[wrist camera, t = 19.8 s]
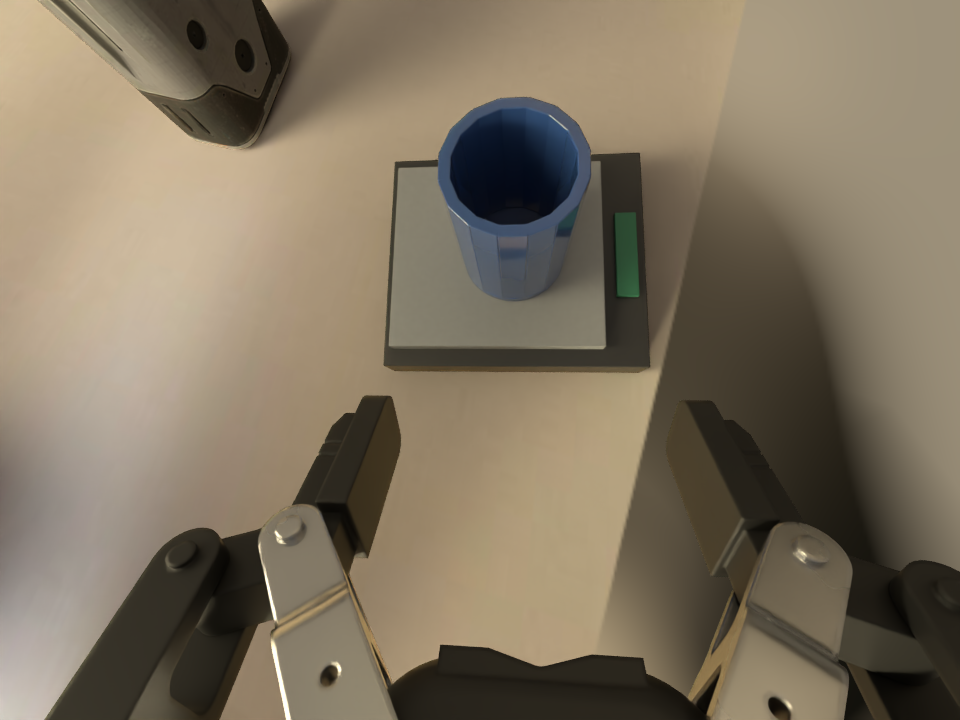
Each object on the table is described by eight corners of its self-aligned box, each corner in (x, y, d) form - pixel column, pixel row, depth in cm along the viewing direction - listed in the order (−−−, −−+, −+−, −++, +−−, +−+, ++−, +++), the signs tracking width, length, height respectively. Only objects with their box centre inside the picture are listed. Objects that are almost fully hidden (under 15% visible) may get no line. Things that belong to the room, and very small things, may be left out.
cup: (564, 203, 24) (589, 93, 16) (566, 301, 23) (593, 234, 15) (464, 206, 24) (440, 100, 16) (461, 302, 23) (434, 237, 15)
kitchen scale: (630, 174, 27) (644, 143, 24) (638, 372, 25) (655, 365, 22) (403, 181, 28) (390, 152, 25) (394, 371, 26) (378, 363, 23)
